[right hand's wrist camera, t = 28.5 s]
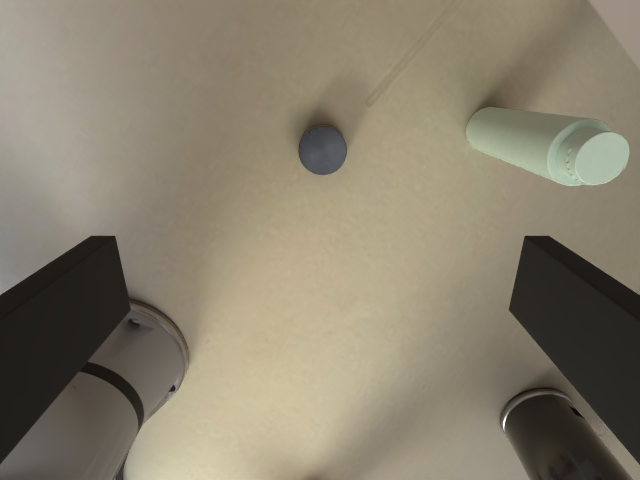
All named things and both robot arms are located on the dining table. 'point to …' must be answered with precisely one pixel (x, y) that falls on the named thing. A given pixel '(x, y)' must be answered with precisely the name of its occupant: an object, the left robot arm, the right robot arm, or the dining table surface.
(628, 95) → the dining table surface
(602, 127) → the bottle
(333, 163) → the lid
